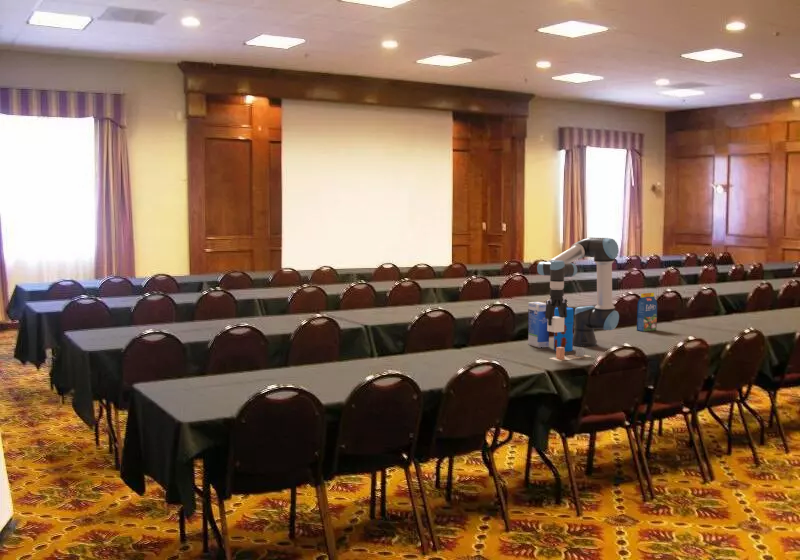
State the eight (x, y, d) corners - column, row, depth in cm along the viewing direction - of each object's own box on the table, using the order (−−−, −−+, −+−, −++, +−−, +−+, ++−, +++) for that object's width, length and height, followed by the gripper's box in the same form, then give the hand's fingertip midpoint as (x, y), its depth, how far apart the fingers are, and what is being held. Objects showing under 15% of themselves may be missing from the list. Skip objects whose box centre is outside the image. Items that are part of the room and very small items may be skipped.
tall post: (560, 357, 470) (560, 346, 469) (564, 358, 467) (564, 347, 466) (556, 358, 468) (556, 347, 467) (560, 359, 465) (560, 348, 465)
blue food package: (636, 330, 570) (637, 293, 567) (649, 329, 576) (650, 292, 573) (643, 331, 564) (644, 294, 562) (656, 330, 570) (657, 292, 568)
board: (579, 355, 481) (579, 353, 481) (591, 357, 474) (591, 356, 474) (548, 360, 468) (548, 358, 468) (560, 362, 461) (560, 360, 460)
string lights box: (549, 347, 507) (550, 304, 505) (538, 348, 505) (538, 304, 502) (538, 343, 520) (538, 301, 517) (527, 344, 517) (527, 301, 515)
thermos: (572, 353, 487) (573, 309, 485) (553, 352, 489) (554, 309, 487) (572, 350, 498) (573, 307, 495) (554, 349, 500) (554, 306, 497)
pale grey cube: (579, 355, 477) (580, 348, 476) (584, 356, 474) (584, 349, 474) (575, 355, 475) (575, 348, 474) (580, 356, 472) (580, 349, 472)
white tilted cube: (556, 330, 474) (556, 316, 473) (564, 331, 469) (564, 317, 468) (547, 330, 471) (547, 317, 470) (555, 332, 465) (555, 318, 464)
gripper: (565, 287, 476) (564, 328, 478) (538, 289, 465) (537, 331, 467) (574, 288, 469) (573, 330, 471) (548, 290, 459) (547, 333, 461)
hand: (555, 330), depth 469 cm, fingers closed on white tilted cube, 6 cm apart
